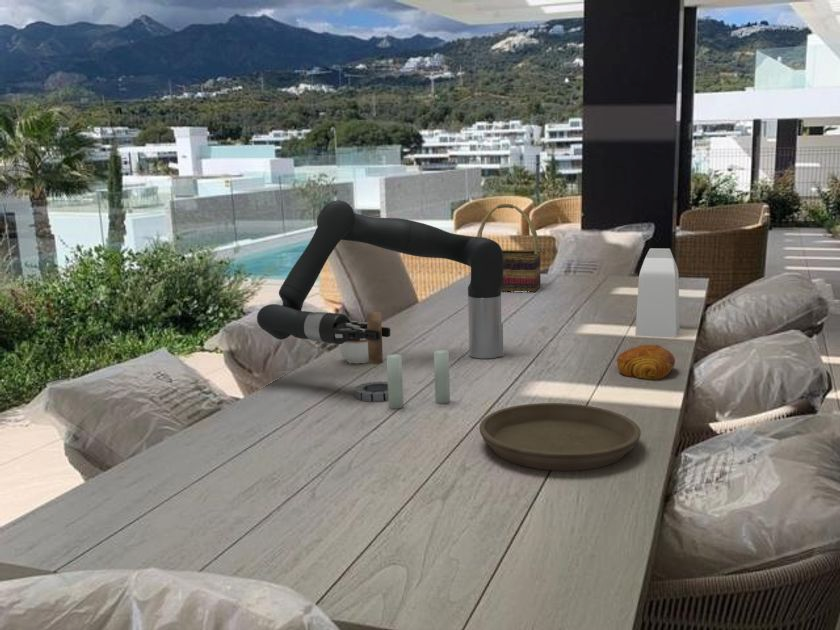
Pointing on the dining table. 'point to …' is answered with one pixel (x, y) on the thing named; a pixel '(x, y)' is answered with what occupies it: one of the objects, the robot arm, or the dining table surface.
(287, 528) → the dining table surface
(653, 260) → the milk
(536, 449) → the plant saucer
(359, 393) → the ring
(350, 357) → the lidded jar
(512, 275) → the basket
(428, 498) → the dining table surface
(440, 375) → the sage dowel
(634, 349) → the croissant
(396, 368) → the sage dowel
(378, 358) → the walnut dowel
